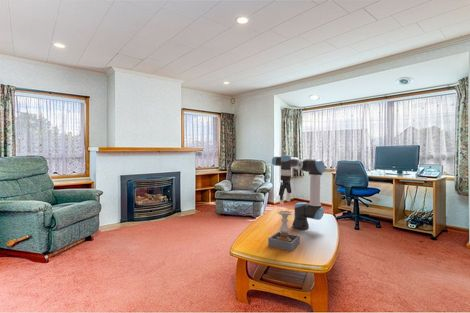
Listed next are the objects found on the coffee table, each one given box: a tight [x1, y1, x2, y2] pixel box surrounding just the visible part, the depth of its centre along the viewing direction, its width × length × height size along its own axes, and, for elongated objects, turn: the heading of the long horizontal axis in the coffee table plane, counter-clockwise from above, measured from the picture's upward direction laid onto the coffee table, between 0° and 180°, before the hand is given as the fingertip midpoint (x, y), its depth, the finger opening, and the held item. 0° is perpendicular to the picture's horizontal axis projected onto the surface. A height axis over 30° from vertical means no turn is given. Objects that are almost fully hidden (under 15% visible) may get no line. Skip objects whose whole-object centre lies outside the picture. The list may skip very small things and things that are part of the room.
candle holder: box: [276, 210, 292, 243], centre depth 194 cm, size 11×11×24 cm
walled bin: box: [267, 231, 301, 252], centre depth 195 cm, size 18×18×6 cm
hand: (285, 202), depth 194 cm, fingers open, 13 cm apart
